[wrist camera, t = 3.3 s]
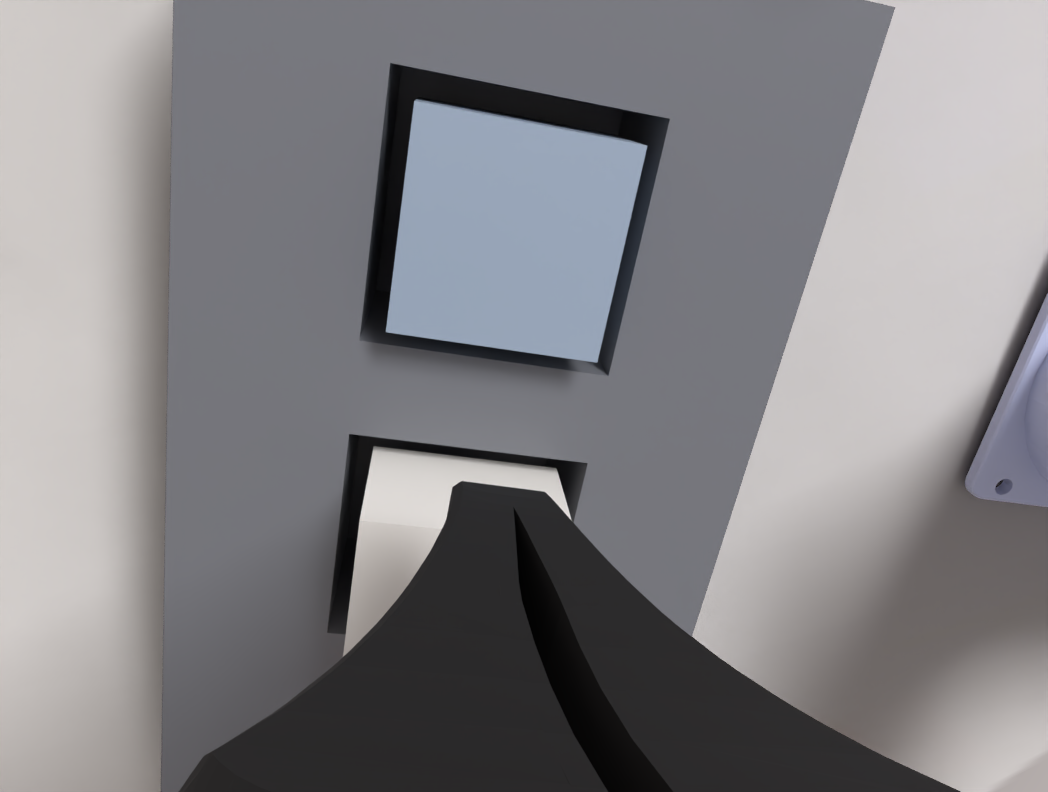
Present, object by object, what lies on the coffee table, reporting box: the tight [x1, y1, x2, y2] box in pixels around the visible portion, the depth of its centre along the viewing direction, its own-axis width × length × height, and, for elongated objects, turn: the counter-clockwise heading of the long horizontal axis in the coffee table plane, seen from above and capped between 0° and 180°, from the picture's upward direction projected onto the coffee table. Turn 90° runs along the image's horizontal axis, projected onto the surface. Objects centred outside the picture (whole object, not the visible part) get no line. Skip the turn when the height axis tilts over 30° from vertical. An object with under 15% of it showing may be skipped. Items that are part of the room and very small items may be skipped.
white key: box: [343, 446, 572, 657], centre depth 16 cm, size 4×4×3 cm
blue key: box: [386, 97, 647, 363], centre depth 15 cm, size 4×4×3 cm
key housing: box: [161, 0, 895, 792], centre depth 19 cm, size 12×24×4 cm, turn 170°
